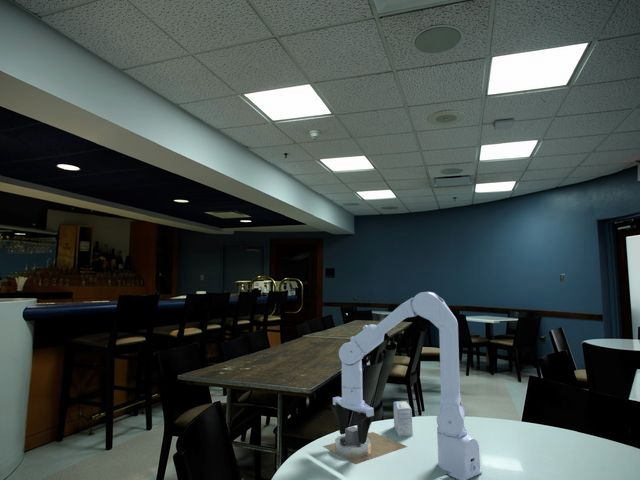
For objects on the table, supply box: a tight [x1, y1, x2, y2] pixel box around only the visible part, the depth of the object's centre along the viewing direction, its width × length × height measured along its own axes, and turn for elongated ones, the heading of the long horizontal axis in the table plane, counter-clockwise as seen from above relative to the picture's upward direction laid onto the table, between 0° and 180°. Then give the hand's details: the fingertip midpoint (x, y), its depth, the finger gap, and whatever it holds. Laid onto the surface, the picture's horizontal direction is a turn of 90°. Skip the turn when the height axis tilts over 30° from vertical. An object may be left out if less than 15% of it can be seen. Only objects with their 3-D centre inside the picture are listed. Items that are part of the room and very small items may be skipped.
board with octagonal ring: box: [322, 431, 408, 465], centre depth 111 cm, size 14×19×3 cm
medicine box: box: [393, 400, 414, 437], centre depth 123 cm, size 8×4×9 cm, turn 179°
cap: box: [343, 426, 363, 446], centre depth 109 cm, size 6×6×6 cm
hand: (352, 437), depth 109 cm, fingers open, 7 cm apart
